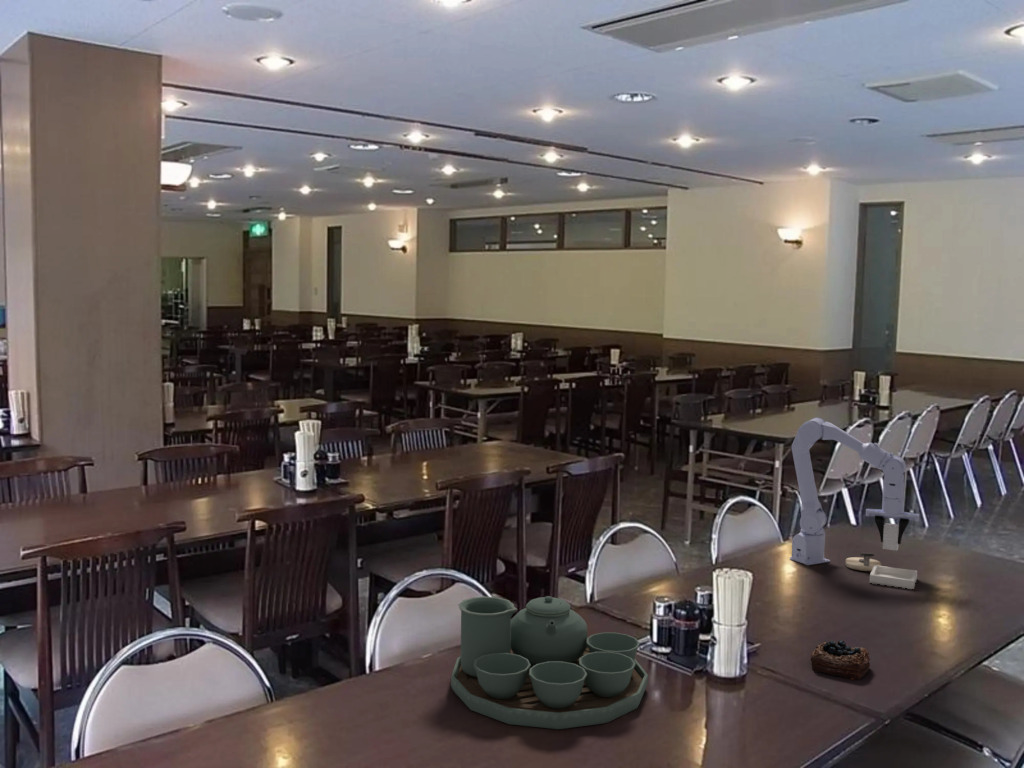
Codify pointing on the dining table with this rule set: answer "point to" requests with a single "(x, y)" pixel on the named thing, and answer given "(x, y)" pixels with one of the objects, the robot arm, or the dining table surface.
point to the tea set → (543, 665)
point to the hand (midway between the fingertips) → (890, 542)
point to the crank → (862, 562)
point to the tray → (893, 577)
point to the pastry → (840, 660)
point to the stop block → (890, 536)
